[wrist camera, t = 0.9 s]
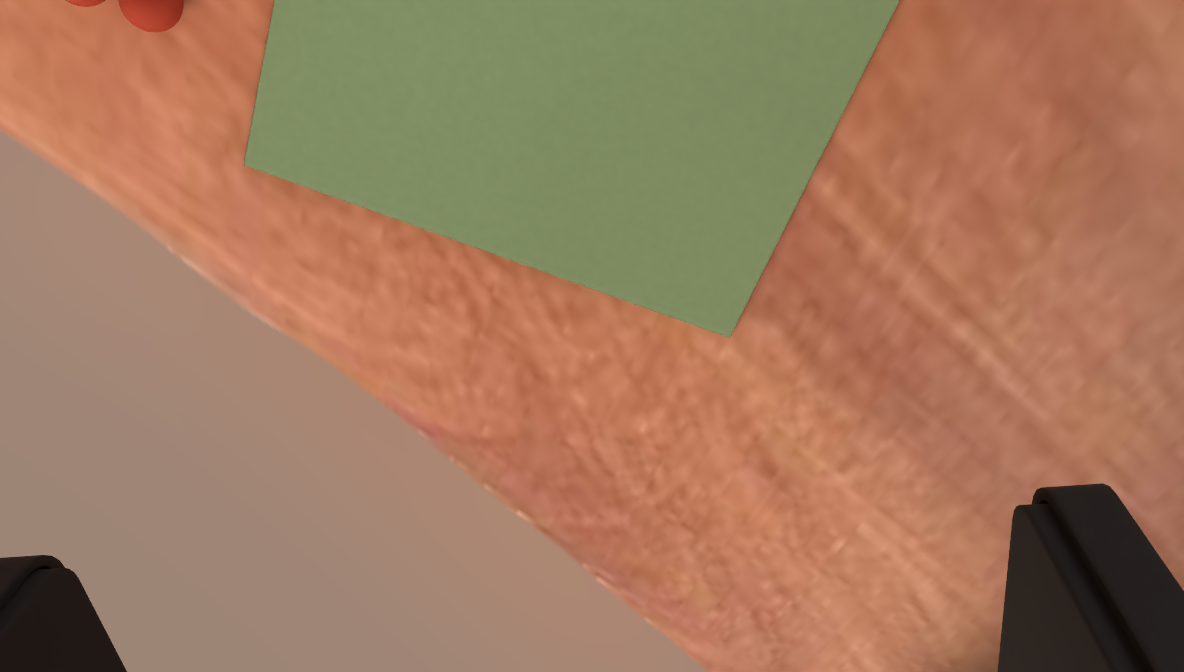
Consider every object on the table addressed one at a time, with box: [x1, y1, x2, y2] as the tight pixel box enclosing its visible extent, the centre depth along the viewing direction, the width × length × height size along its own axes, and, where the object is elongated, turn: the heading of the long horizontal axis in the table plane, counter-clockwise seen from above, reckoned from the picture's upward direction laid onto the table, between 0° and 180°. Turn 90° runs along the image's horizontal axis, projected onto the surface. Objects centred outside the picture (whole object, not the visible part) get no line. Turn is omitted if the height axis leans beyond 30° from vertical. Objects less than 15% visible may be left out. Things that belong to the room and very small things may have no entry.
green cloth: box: [244, 0, 900, 338], centre depth 33 cm, size 15×20×1 cm
